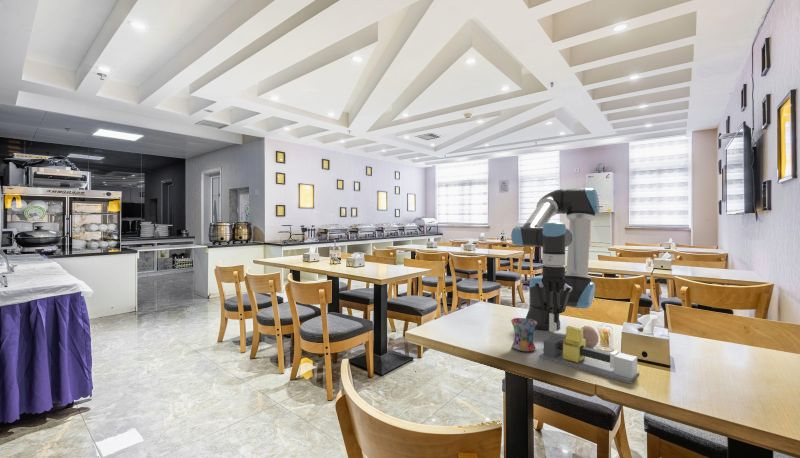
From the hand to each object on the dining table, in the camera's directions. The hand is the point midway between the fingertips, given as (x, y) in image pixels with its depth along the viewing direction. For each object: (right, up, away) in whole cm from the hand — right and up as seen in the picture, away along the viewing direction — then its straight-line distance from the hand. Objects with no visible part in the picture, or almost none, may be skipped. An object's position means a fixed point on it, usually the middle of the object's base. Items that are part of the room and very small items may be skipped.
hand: (552, 330), depth 129 cm
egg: (+17, -9, +8) cm, 21 cm away
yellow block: (+5, -8, -5) cm, 11 cm away
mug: (-7, -9, +8) cm, 14 cm away
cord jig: (+8, -9, -8) cm, 15 cm away
